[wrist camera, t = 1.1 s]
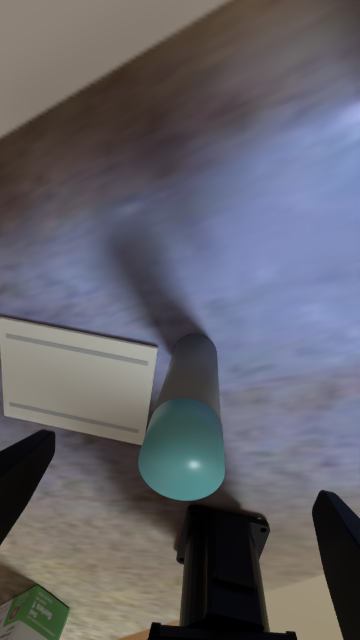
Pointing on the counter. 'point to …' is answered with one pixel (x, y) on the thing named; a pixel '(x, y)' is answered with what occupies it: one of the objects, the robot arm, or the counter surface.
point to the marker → (186, 426)
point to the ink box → (32, 616)
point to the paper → (76, 380)
